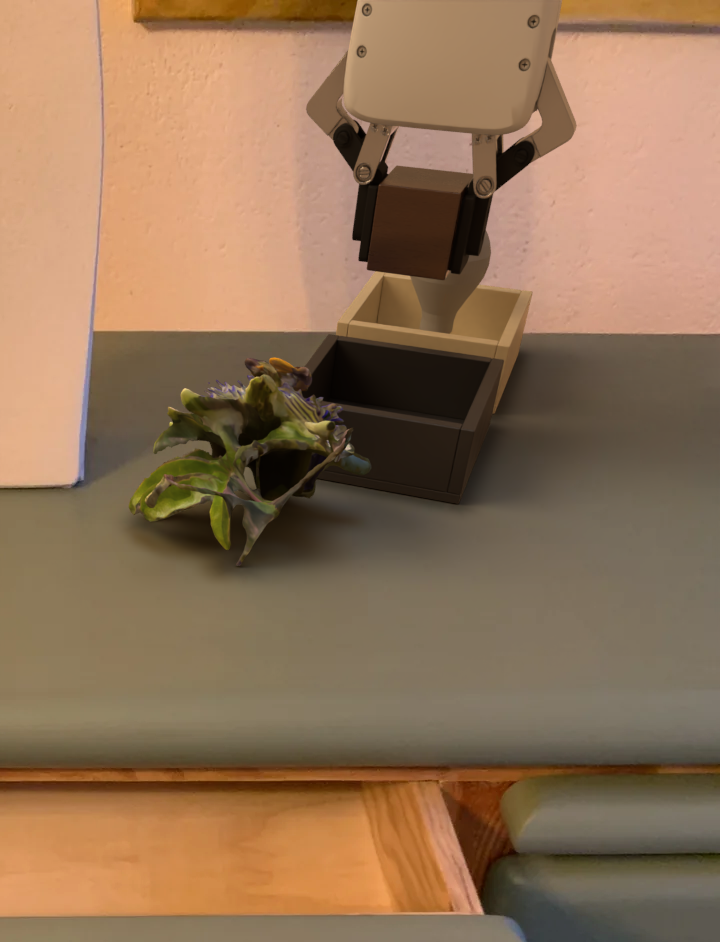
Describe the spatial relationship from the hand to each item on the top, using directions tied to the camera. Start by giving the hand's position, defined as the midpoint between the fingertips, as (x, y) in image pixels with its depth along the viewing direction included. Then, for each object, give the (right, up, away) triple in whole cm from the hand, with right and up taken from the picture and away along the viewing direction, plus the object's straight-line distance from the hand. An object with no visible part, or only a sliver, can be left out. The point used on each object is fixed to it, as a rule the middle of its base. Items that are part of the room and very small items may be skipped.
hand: (413, 257), depth 67 cm
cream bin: (+5, 0, +18) cm, 18 cm away
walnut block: (0, 0, 0) cm, 0 cm away
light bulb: (+6, 0, +17) cm, 18 cm away
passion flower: (-10, -16, 0) cm, 19 cm away
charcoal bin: (0, -9, +8) cm, 12 cm away
